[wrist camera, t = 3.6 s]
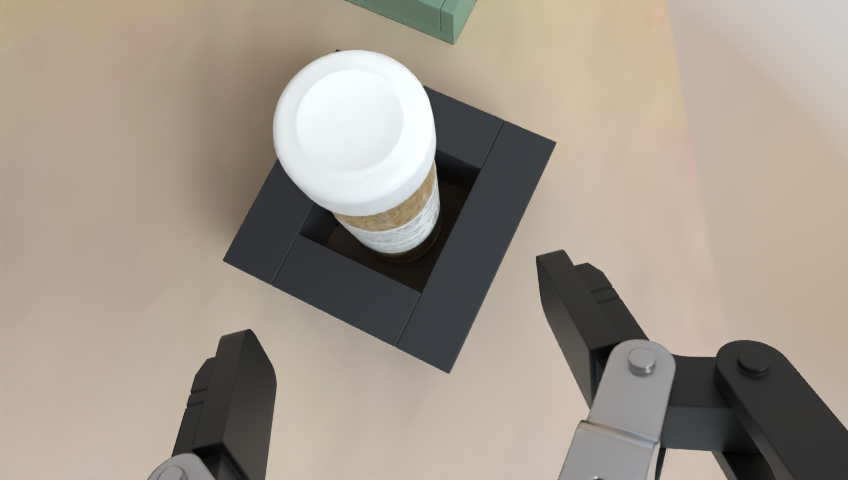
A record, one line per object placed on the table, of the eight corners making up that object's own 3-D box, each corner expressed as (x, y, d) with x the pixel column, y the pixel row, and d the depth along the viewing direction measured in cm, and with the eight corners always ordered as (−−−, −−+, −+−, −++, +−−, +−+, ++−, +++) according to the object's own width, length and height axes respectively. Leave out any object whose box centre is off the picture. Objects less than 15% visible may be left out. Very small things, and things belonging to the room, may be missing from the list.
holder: (259, 272, 28) (221, 260, 23) (354, 91, 29) (336, 48, 25) (450, 367, 26) (449, 374, 22) (540, 172, 28) (556, 142, 23)
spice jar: (369, 172, 28) (293, 29, 15) (452, 190, 28) (450, 59, 15) (346, 255, 28) (247, 181, 14) (432, 275, 27) (411, 218, 14)
